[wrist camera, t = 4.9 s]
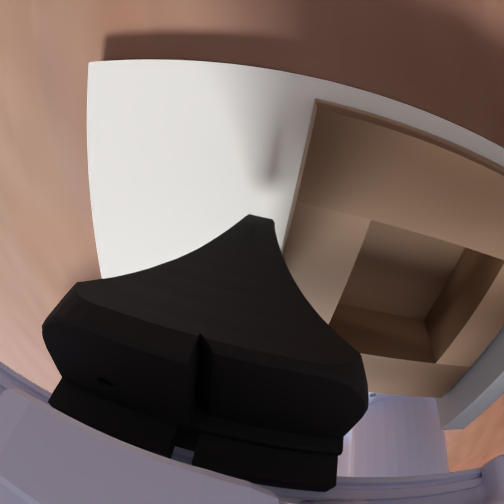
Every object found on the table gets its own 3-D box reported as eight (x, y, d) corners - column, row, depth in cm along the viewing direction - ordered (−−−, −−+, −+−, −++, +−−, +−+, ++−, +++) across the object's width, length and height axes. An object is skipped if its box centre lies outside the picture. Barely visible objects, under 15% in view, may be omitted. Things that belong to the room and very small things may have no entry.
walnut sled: (428, 343, 14) (441, 397, 11) (265, 313, 15) (252, 371, 12) (519, 175, 9) (567, 213, 6) (314, 98, 9) (316, 108, 6)
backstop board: (450, 342, 15) (472, 428, 10) (110, 267, 17) (51, 341, 12) (542, 171, 9) (621, 235, 4) (102, 61, 10) (-6, 78, 5)
